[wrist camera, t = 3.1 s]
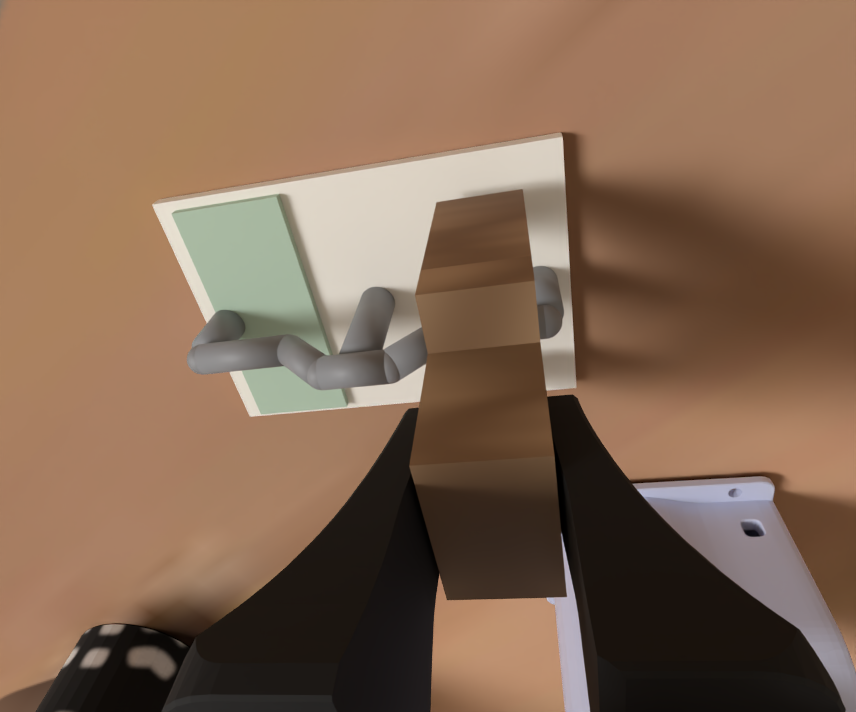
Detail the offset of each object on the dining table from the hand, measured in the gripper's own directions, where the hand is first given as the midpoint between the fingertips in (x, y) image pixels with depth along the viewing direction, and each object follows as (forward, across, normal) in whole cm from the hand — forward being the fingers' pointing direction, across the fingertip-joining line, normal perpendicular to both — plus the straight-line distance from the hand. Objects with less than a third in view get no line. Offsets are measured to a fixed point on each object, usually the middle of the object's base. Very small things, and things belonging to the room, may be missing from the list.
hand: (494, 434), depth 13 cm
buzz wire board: (+8, +4, 0) cm, 9 cm away
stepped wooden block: (+6, 0, 0) cm, 6 cm away
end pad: (+8, +8, 0) cm, 11 cm away
